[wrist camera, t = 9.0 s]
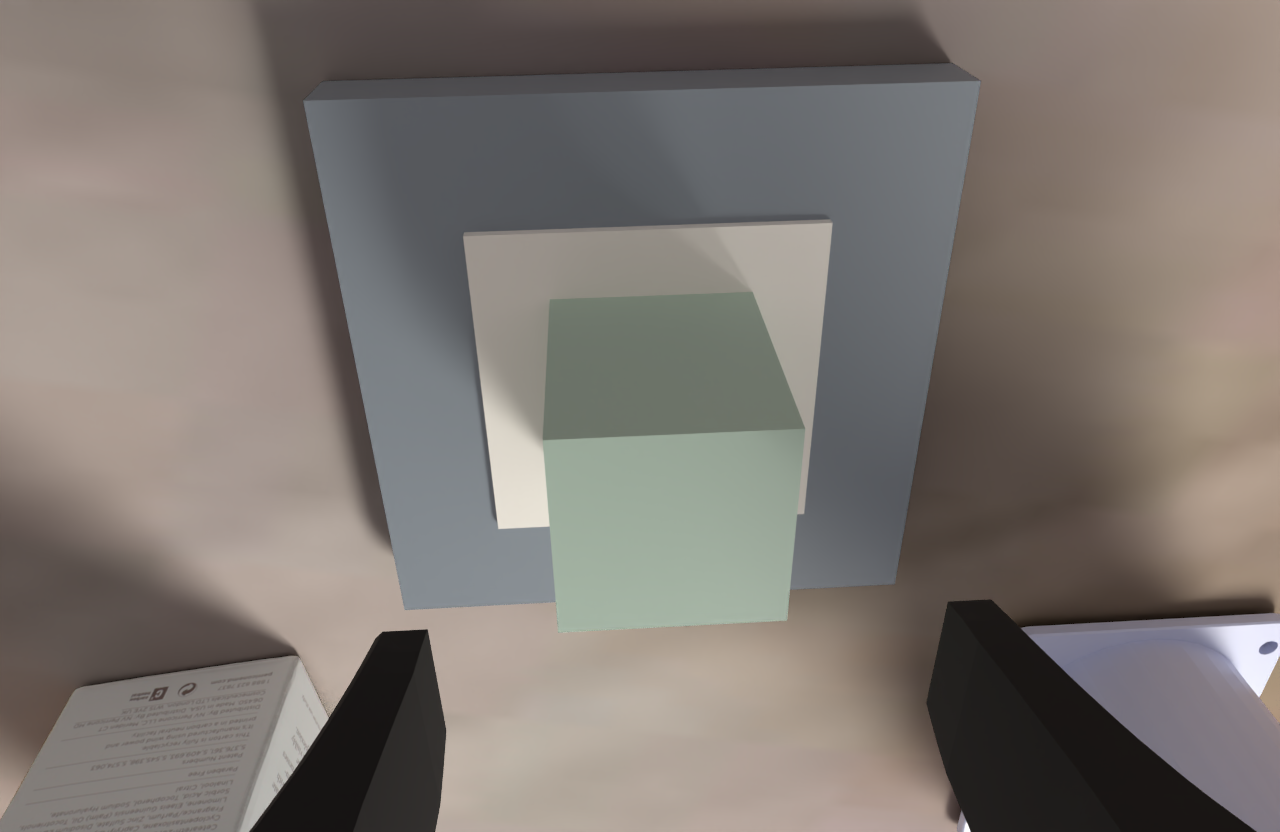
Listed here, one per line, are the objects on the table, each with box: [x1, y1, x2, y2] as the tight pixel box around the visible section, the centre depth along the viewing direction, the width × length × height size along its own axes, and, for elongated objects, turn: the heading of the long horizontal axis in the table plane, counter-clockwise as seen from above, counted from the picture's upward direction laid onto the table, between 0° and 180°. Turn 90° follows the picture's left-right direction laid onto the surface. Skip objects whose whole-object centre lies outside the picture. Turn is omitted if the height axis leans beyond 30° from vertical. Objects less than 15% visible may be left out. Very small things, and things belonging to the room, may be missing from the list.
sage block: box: [543, 292, 805, 633], centre depth 17 cm, size 4×4×5 cm
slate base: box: [303, 63, 981, 610], centre depth 20 cm, size 12×12×2 cm
